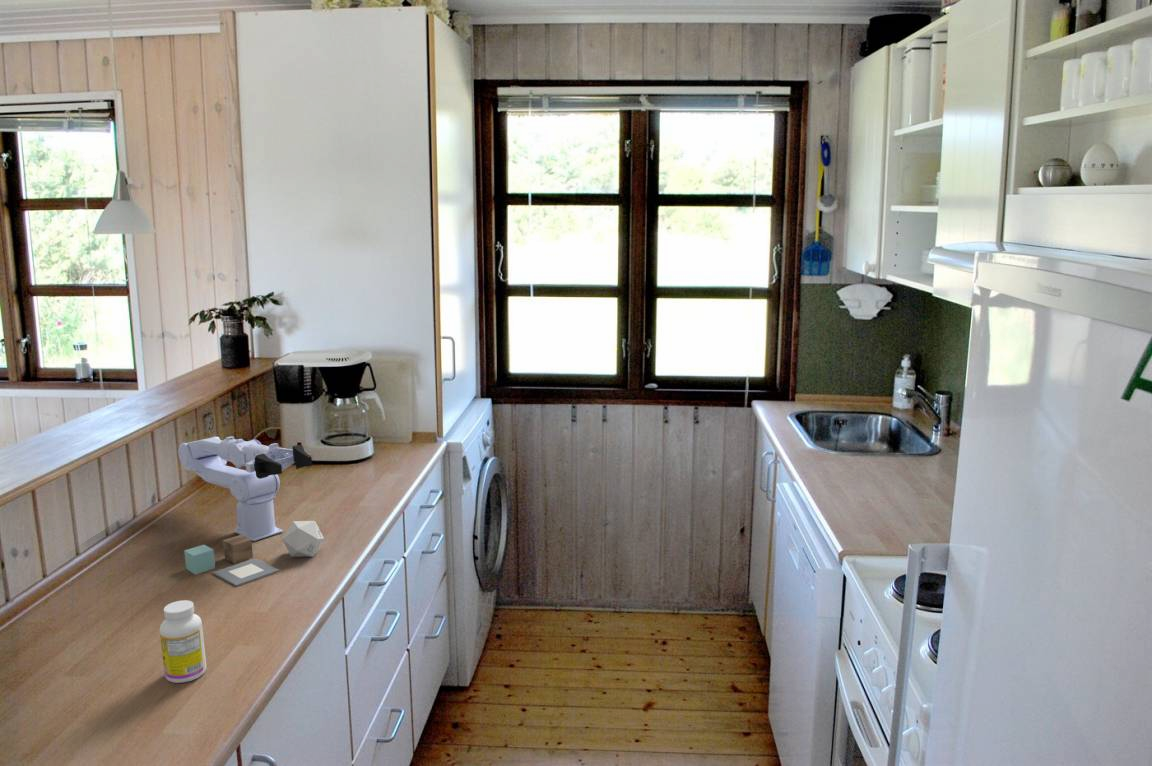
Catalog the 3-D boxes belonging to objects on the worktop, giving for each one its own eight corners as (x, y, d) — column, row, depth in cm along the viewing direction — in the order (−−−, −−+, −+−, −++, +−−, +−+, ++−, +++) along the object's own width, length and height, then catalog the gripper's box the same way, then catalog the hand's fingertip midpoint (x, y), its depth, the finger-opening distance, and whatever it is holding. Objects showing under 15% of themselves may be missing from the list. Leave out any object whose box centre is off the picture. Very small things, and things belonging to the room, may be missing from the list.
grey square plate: (213, 573, 188) (213, 571, 188) (255, 559, 196) (255, 557, 196) (236, 586, 182) (236, 584, 182) (279, 571, 189) (278, 569, 189)
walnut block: (224, 558, 197) (222, 540, 196) (243, 552, 200) (241, 534, 199) (234, 563, 194) (232, 545, 193) (252, 557, 197) (251, 539, 196)
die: (301, 567, 193) (325, 530, 194) (270, 547, 194) (294, 511, 195) (312, 565, 201) (335, 530, 202) (282, 546, 202) (304, 511, 203)
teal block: (186, 569, 191) (184, 550, 190) (205, 563, 194) (203, 544, 193) (195, 574, 188) (193, 555, 187) (215, 568, 192) (213, 549, 191)
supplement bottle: (173, 664, 151) (166, 598, 149) (212, 663, 152) (205, 596, 149) (158, 685, 145) (150, 616, 142) (199, 683, 145) (191, 614, 143)
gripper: (234, 448, 198) (264, 455, 189) (290, 435, 208) (321, 441, 199) (238, 477, 199) (268, 486, 190) (294, 463, 209) (324, 470, 201)
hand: (295, 465), depth 195 cm, fingers open, 7 cm apart
